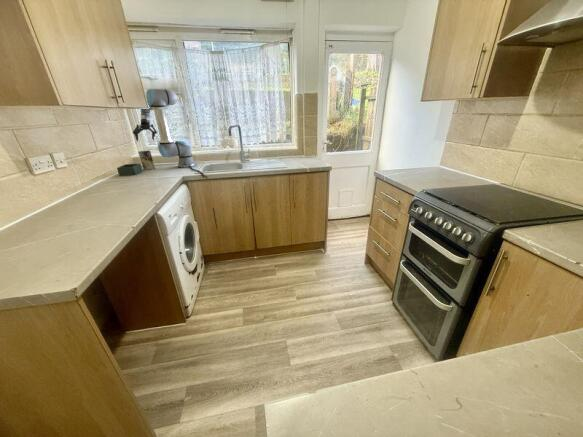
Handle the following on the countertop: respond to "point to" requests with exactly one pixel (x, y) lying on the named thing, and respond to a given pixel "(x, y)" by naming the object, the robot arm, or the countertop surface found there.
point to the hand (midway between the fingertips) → (145, 139)
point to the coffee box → (146, 160)
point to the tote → (129, 169)
